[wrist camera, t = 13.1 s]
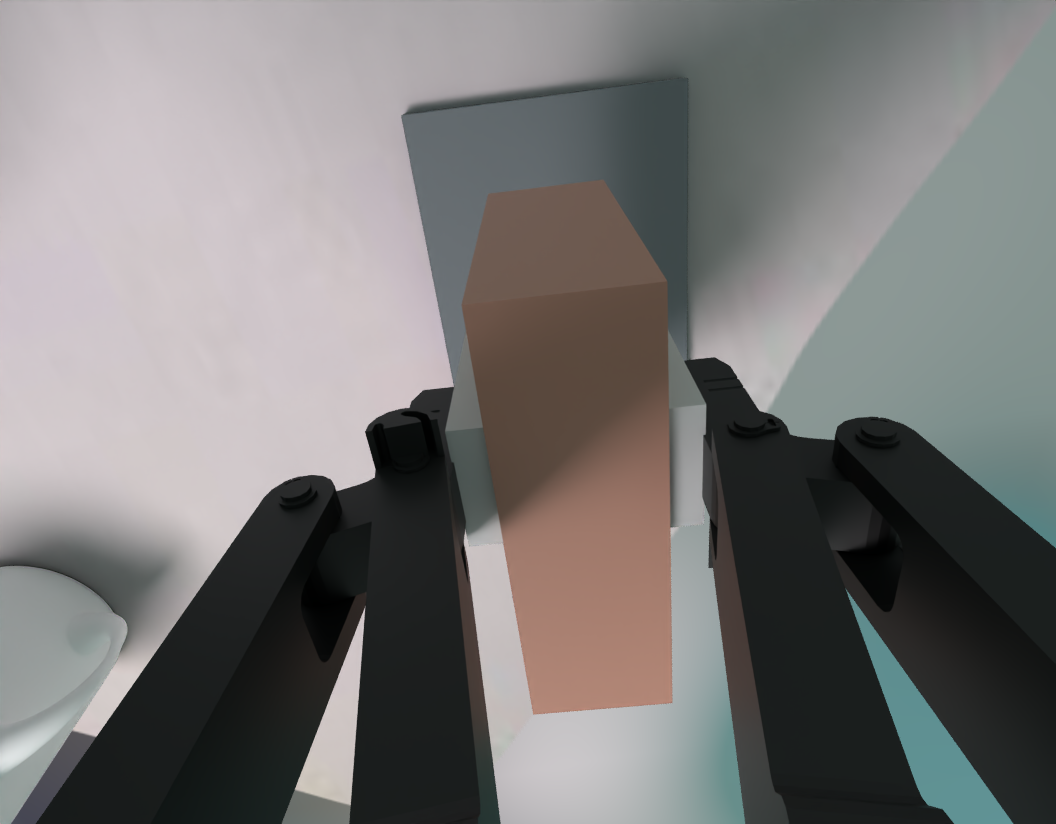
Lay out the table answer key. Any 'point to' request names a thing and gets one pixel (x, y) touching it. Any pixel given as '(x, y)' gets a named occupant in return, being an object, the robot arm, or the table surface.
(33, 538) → the table surface
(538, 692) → the block
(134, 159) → the table surface
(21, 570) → the mug
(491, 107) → the mat
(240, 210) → the table surface
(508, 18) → the table surface
